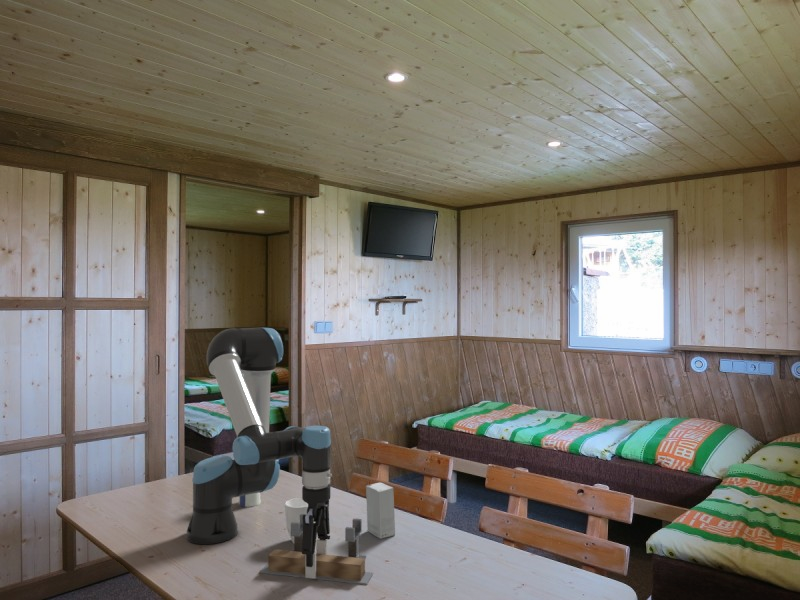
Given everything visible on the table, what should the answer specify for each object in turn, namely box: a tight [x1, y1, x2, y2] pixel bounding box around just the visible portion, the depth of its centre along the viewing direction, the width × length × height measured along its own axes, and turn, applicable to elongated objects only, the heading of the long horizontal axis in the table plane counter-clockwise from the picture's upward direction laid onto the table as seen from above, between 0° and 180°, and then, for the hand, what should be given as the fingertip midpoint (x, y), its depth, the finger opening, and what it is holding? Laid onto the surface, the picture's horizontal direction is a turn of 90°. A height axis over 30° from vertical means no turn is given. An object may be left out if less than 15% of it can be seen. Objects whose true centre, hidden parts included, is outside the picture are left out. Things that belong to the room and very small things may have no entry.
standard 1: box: [291, 514, 307, 552], centre depth 162 cm, size 5×8×11 cm, turn 167°
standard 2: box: [344, 518, 367, 560], centre depth 159 cm, size 5×8×11 cm, turn 167°
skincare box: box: [365, 482, 396, 540], centre depth 180 cm, size 8×6×15 cm
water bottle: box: [238, 493, 261, 508], centre depth 207 cm, size 8×8×25 cm
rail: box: [267, 548, 366, 581], centre depth 153 cm, size 26×4×4 cm, turn 77°
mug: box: [284, 497, 315, 544], centre depth 175 cm, size 12×9×12 cm
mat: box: [259, 562, 374, 586], centre depth 153 cm, size 30×6×1 cm, turn 77°
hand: (316, 570), depth 153 cm, fingers open, 7 cm apart
